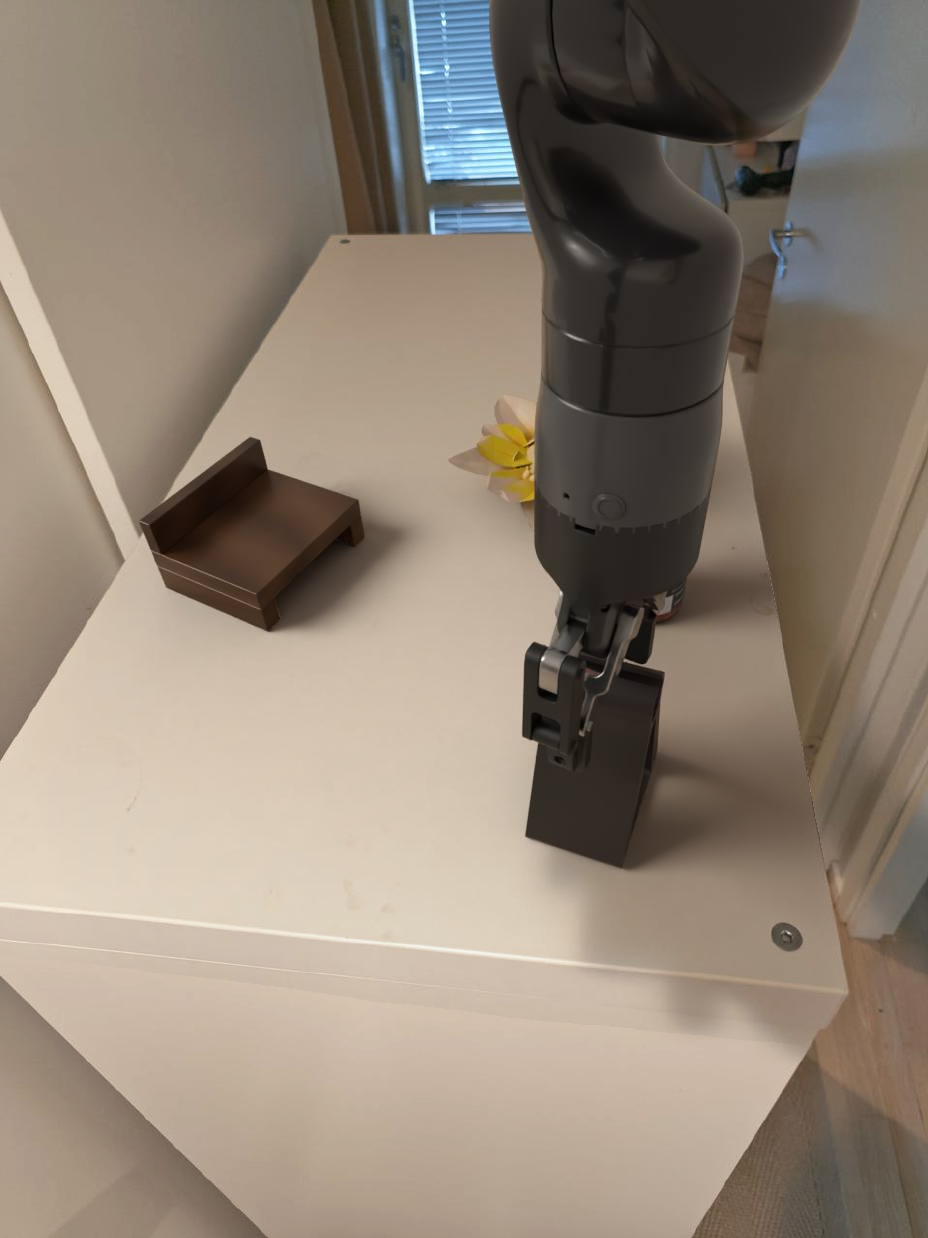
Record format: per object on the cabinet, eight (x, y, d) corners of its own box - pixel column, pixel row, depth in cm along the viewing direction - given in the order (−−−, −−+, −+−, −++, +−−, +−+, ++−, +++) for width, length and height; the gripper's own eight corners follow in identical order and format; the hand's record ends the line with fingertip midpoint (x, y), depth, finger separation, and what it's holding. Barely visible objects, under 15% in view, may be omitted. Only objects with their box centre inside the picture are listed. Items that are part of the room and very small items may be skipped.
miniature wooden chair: (268, 632, 65) (246, 563, 60) (165, 587, 70) (138, 520, 65) (365, 536, 73) (353, 468, 68) (267, 502, 77) (249, 436, 72)
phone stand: (569, 728, 57) (576, 599, 49) (657, 753, 55) (680, 624, 47) (524, 838, 51) (522, 714, 43) (620, 871, 50) (639, 747, 41)
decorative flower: (424, 458, 78) (443, 355, 71) (522, 442, 83) (548, 346, 77) (516, 554, 69) (546, 447, 63) (618, 529, 75) (656, 429, 68)
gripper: (609, 370, 42) (592, 606, 53) (461, 536, 33) (479, 774, 45) (761, 405, 39) (709, 647, 50) (641, 597, 30) (611, 834, 42)
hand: (601, 706), depth 47 cm, fingers open, 8 cm apart
